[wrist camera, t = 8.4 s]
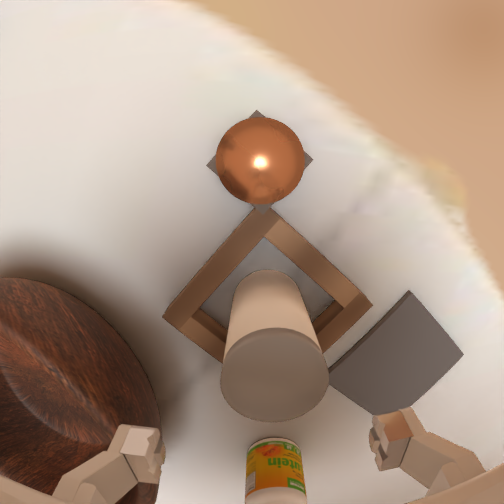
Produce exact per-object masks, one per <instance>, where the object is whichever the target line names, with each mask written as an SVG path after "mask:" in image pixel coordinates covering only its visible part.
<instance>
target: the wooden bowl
mask: <svg viewBox="0 0 504 504" xmlns="http://www.w3.org/2000/svg"><path fill="white" fill-rule="evenodd" d="M121 424H125V425H134V426H143V427H152V428H157V429H158V430H159V432H160V438H159V439H160V440H161V441H162V431H161V422H160V415H159V411H158V406H157V403H156V399H155V396H154V393H153V390H152V387H151V385H150V383H149V380H148V378H147V376H146V374H145V372H144V370H143V368H142V367H141V365H140V363H139V361H138V360H137V358H136V356H135V355H134V353H133V352H132V350H131V349H130V348H129V346H128V345H127V344H126V342H125V341H124V340H123V339H122V337H121V336H120V335H119V334H118V333H117V332H116V331H115V330H114V329H113V327H112V326H111V325H110V324H109V323H108V322H106V321H105V320H104V319H103V318H102V317H101V316H100V315H99V314H98V313H96V312H95V311H94V310H93V309H91V308H90V307H89V306H87V305H86V304H85V303H83V302H82V301H80V300H79V299H77V298H75V297H74V296H72V295H70V294H68V293H66V292H64V291H62V290H60V289H58V288H55V287H53V286H51V285H48V284H45V283H42V282H38V281H33V280H29V279H24V278H12V277H2V278H0V475H2V476H5V477H7V478H9V479H11V480H13V481H15V482H18V483H20V484H22V485H25V486H27V487H30V488H32V489H34V490H37V491H40V492H42V493H45V494H48V495H50V496H52V495H53V493H54V491H55V489H56V487H57V485H58V483H59V481H60V480H61V478H62V476H63V475H64V474H66V473H68V472H70V471H71V470H73V469H75V468H76V467H78V466H80V465H81V464H83V463H85V462H86V461H88V460H90V459H91V458H93V457H95V456H96V455H98V454H100V453H101V452H103V451H107V450H108V448H109V446H110V444H111V442H112V440H113V437H114V435H115V433H116V431H117V429H118V427H119V426H120V425H121ZM160 469H161V466H160ZM159 480H160V479H159ZM158 488H159V483H158V484H154V483H145V482H138V483H137V484H136V485H135V486H134V487H133V488H132V489H131V490H129V491H128V492H127V493H126V494H125V495H124V496H123V497H122V498H120V499H119V500H118V501H117V502H116V503H115V504H155V502H156V498H157V493H158Z"/></svg>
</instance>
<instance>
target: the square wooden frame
mask: <svg viewBox="0 0 504 504" xmlns="http://www.w3.org/2000/svg"><path fill="white" fill-rule="evenodd" d="M255 117H265V116H263V115H262V114H261V113H260V112H259V111H257V110H256V111H255V112H254V113H253V114H252V115H251V116H250V117H249V118H255ZM249 118H248V119H249ZM265 118H266V117H265ZM304 157H305V165H304V169H305V168H306V167H307V166H308V165H309V164H310V163H311V162H312V160H313V159H312V158H311V157H310V156H309V155H308V154H307V153H306V152H305V151H304ZM206 166H207V167H209V168H210V169H211V170H212V171H213V172H214V173H216V174H217V175H218V173H217V169H216V155H215V156H214V157H213V159H212V160H211V161H210V162H209V163H208V164H207V165H206ZM273 203H274V202H273ZM273 203H269V204H251V203H250V204H251V205H253V206H254V207H255V208H254V209H253V210H252V211H251V212H250V214H249V215H248V216H247V217H246V218H245V219H244V220H243V221H242V223H241V224H240V225H239V226H238V227H237V228H236V229H235V230H234V232H233V233H232V234H231V235H230V236H229V237H228V238H227V240H226V241H225V242H224V243H223V244H222V245H221V246H220V248H219V249H218V250H217V251H216V252H215V253H214V254H213V256H212V257H211V258H210V259H209V260H208V261H207V262H206V264H205V265H204V266H203V267H202V268H201V269H200V270H199V272H198V273H197V274H196V275H195V276H194V277H193V279H192V280H191V281H190V282H189V283H188V284H187V286H186V287H185V288H184V289H183V290H182V291H181V293H180V294H179V295H178V296H177V297H176V298H175V300H174V301H173V302H172V303H171V304H170V305H169V307H168V308H167V310H166V312H165V313H164V315H163V316H162V318H164V319H165V320H166V321H167V322H169V323H170V324H171V325H172V326H174V327H175V328H176V329H177V330H179V331H180V332H181V333H183V334H184V335H185V336H186V337H188V338H189V339H190V340H192V341H193V342H194V343H196V344H197V345H198V346H199V347H201V348H202V349H203V350H205V351H206V352H207V353H209V354H210V355H212V356H213V357H214V358H216V359H217V360H218V361H220V362H221V363H222V364H223V359H224V353H225V346H226V340H227V334H228V330H226V329H225V328H224V327H223V326H221V325H220V324H219V323H217V322H216V321H215V320H214V319H212V318H211V317H210V316H209V315H207V314H206V313H205V312H204V311H202V310H201V309H200V308H199V307H200V306H201V305H202V304H203V303H204V302H205V301H206V300H207V298H208V297H209V296H210V295H211V294H212V293H213V292H214V291H215V290H216V289H217V287H218V286H219V285H220V284H221V283H222V282H223V281H224V280H225V279H226V278H227V276H228V275H229V274H230V273H231V272H232V271H233V270H234V269H235V268H236V267H237V265H238V264H239V263H240V262H241V261H242V260H243V259H244V258H245V257H246V256H247V254H248V253H249V252H250V251H251V250H252V249H253V248H254V247H255V246H256V245H257V243H258V242H259V241H260V240H261V239H262V238H263V237H265V238H266V239H268V240H269V241H270V242H271V243H272V244H273V245H274V246H276V247H277V248H278V249H279V250H280V251H281V252H282V253H283V254H285V255H286V256H287V257H288V258H289V259H290V260H291V261H293V262H294V263H295V264H296V265H297V266H298V267H299V268H300V269H302V270H303V271H304V272H305V273H306V274H307V275H308V276H309V277H311V278H312V279H313V280H314V281H315V282H316V283H317V284H318V285H320V286H321V287H322V288H323V289H324V290H325V291H326V292H327V293H328V294H330V295H331V296H332V297H333V298H334V299H335V301H334V302H333V303H332V304H331V305H330V306H329V307H328V308H327V309H326V310H325V311H324V312H323V313H322V314H321V315H320V316H319V317H318V318H317V319H316V320H315V321H314V322H313V323H312V326H313V329H314V331H315V334H316V337H317V340H318V342H319V345H320V348H321V351H322V354H323V353H324V352H325V351H326V350H327V349H328V348H329V347H330V346H332V345H333V344H334V343H335V342H336V341H337V340H338V339H339V338H340V337H341V336H342V335H343V334H344V333H345V332H346V331H347V330H348V329H349V328H351V327H352V326H353V325H354V324H355V323H356V322H357V321H358V320H359V319H360V318H361V317H362V316H363V315H364V314H365V313H366V312H367V311H368V310H369V309H370V308H371V307H372V306H373V305H372V304H371V302H370V301H369V300H368V299H367V297H366V296H365V295H364V294H363V293H362V292H361V291H360V290H359V289H358V288H357V287H356V286H355V285H354V284H353V283H351V282H350V281H349V280H348V279H347V278H346V277H345V276H344V275H343V274H342V273H341V272H340V271H339V270H338V269H337V268H336V267H335V266H334V265H332V264H331V263H330V262H329V261H328V260H327V259H326V258H325V257H324V256H323V255H322V254H321V253H320V252H319V251H317V250H316V249H315V248H314V247H313V246H312V245H311V244H310V243H309V242H308V241H307V240H306V239H304V238H303V237H302V236H301V235H300V234H299V233H298V232H297V231H296V230H295V229H293V228H292V227H291V226H290V225H289V224H288V223H287V222H286V221H285V220H283V219H282V218H281V217H280V216H279V215H278V214H277V213H276V212H275V211H273V210H272V209H271V208H270V207H271V205H272V204H273Z"/></svg>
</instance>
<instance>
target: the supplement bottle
mask: <svg viewBox="0 0 504 504" xmlns="http://www.w3.org/2000/svg"><path fill="white" fill-rule="evenodd" d="M245 504H307V497H306V490H305V482H304V474H303V467H302V459H301V452H300V449H299V447H298V446H297V444H295V443H294V442H292V441H290V440H288V439H284V438H267V439H263V440H260V441H258V442H256V443H254V444H253V445H252V446H251V447H250V448H249V450H248V452H247V462H246V488H245Z"/></svg>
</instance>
